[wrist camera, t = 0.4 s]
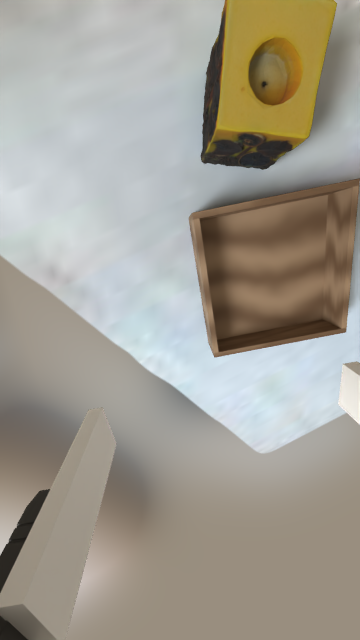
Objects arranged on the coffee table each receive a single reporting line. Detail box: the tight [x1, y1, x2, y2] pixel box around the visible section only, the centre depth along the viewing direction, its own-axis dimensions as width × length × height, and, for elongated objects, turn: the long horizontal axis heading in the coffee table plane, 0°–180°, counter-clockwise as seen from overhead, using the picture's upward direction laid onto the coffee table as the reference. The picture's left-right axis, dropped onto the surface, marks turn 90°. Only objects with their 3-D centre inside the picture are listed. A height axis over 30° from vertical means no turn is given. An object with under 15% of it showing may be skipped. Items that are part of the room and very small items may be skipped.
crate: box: [189, 178, 360, 357], centre depth 33 cm, size 22×22×6 cm
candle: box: [201, 0, 337, 170], centre depth 24 cm, size 10×10×10 cm
